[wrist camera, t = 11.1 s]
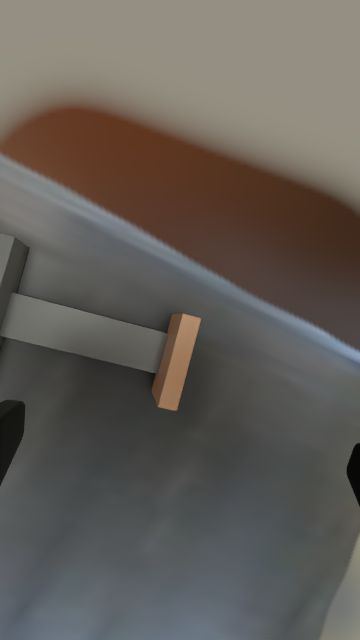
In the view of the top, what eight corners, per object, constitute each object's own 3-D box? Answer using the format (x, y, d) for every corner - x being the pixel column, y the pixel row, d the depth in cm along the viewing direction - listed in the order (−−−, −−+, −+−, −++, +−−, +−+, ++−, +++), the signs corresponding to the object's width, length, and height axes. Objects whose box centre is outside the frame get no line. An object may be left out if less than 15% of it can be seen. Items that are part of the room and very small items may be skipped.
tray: (160, 417, 25) (169, 439, 21) (-167, 346, 21) (-241, 354, 17) (192, 295, 26) (208, 291, 21) (-123, 203, 22) (-185, 175, 17)
